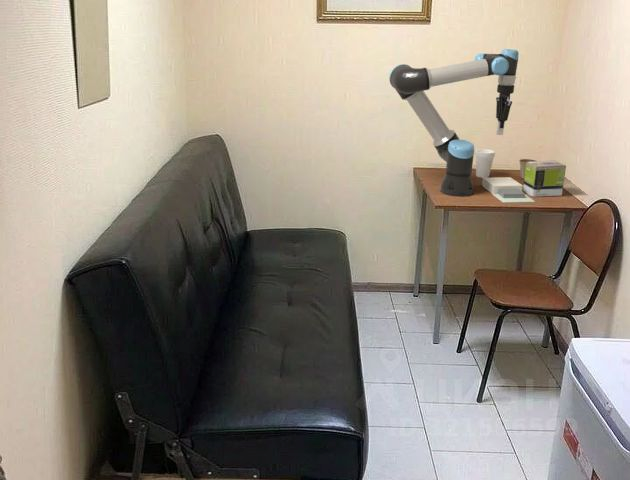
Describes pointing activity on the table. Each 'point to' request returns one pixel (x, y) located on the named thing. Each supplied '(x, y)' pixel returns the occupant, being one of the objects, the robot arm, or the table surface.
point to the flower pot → (523, 166)
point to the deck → (500, 184)
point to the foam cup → (484, 162)
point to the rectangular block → (511, 193)
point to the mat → (514, 199)
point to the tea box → (544, 178)
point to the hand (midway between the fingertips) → (499, 134)
